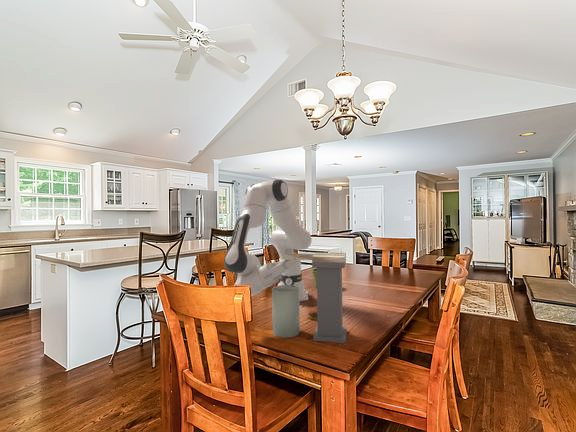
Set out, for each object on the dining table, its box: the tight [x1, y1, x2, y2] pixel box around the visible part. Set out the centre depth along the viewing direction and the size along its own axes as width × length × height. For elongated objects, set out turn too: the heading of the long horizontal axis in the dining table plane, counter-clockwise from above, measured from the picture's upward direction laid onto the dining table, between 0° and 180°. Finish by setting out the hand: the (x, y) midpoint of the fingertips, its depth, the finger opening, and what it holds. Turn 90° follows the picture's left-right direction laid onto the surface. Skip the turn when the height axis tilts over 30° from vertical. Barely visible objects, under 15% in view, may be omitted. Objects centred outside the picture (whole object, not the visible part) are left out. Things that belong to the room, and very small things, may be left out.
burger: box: [307, 306, 317, 322], centre depth 145 cm, size 10×9×5 cm
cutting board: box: [284, 252, 347, 263], centre depth 124 cm, size 12×24×2 cm, turn 77°
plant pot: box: [311, 267, 317, 289], centre depth 200 cm, size 12×12×11 cm
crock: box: [271, 285, 301, 339], centre depth 128 cm, size 11×11×18 cm
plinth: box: [311, 258, 348, 344], centre depth 123 cm, size 12×12×30 cm
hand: (298, 257), depth 126 cm, fingers open, 8 cm apart
